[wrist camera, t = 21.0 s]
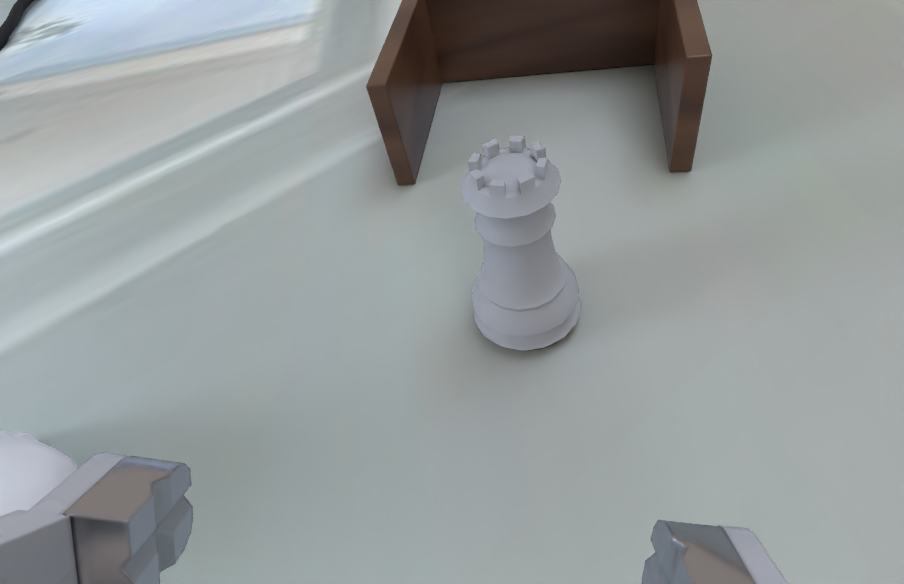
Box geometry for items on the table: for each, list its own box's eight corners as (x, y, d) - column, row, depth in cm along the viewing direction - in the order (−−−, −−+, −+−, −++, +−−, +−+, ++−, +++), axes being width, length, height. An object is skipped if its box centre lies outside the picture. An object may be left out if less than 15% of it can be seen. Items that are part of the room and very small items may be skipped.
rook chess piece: (557, 260, 25) (549, 103, 19) (599, 337, 22) (604, 180, 16) (462, 290, 25) (424, 142, 19) (491, 371, 22) (457, 226, 16)
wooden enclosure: (691, 171, 27) (712, 55, 23) (397, 185, 31) (365, 86, 26) (669, 54, 34) (682, -54, 30) (430, 76, 38) (409, -19, 33)
